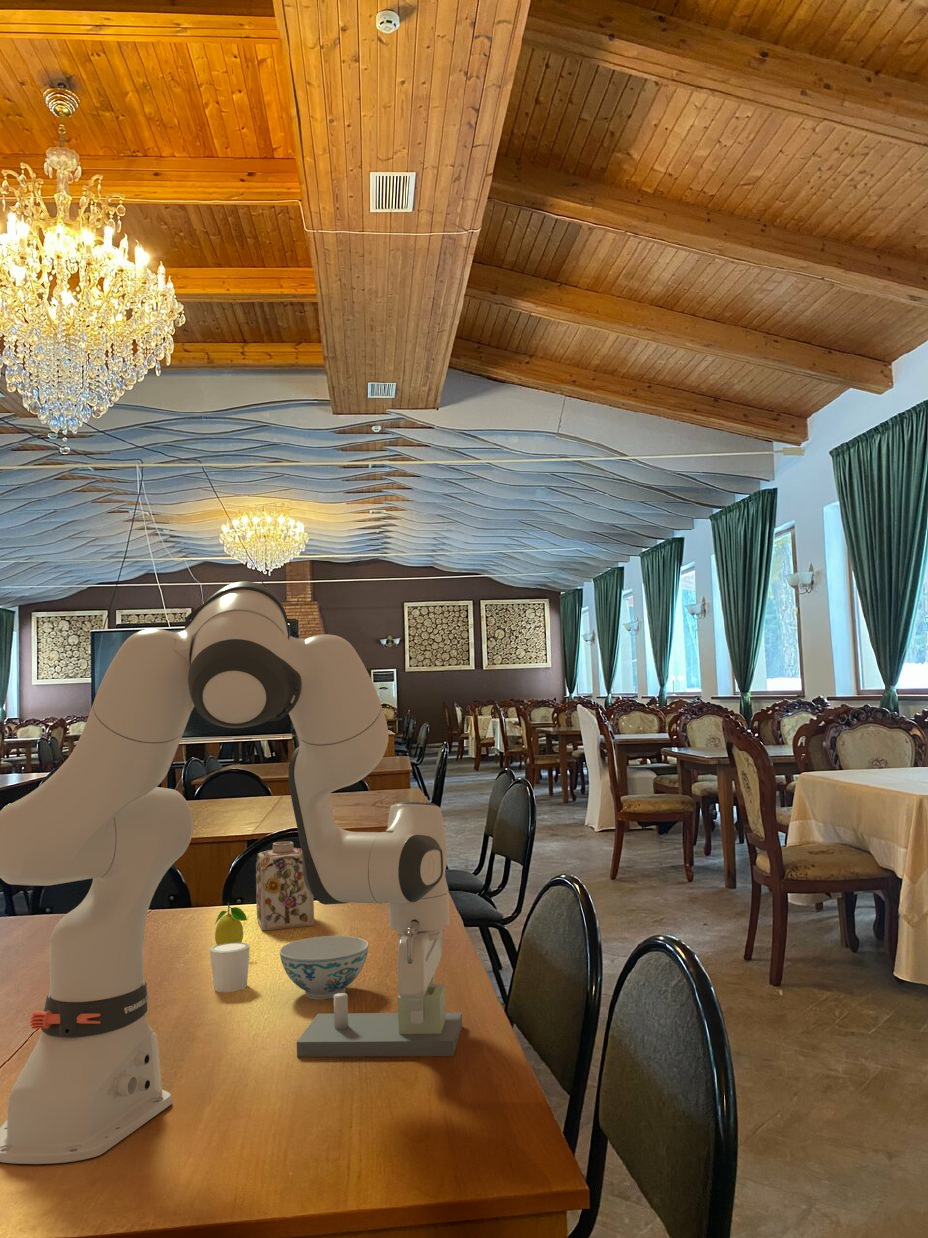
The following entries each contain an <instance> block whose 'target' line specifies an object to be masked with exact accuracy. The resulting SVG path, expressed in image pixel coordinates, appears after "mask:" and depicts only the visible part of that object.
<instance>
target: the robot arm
mask: <svg viewBox="0 0 928 1238" xmlns="http://www.w3.org/2000/svg"><path fill="white" fill-rule="evenodd" d="M288 629H289V620H288V615H287V613H286V610H285V608H284V606H283V603H282V601H281V600H280V599H279V597H278V596H277V595H276V594H275V593H274V592H273V591H272V590H271V589H269V588H268V587H267V586H264V585H263V584H260V583H257V582H253V581H246V580H243V581H237V582H232V583H230V584H227V585H226V586H224V587H222V588H220V589H219V590H218V591H216V592H215V593H214V594H213V595H211V596H210V597H209V598H208V599H207V600H206V601H205V602H203V603H202V604H201V605H200V606H198V607H197V608H196V609H194V610H192V611H191V612H190V613H188V615H187V616H186V617H185V620H184V629H183V630H182V631H178V632H177V631H175V632H174V631H170V630H166V629H161V628H148V629H143V630H139V631H137V632H134V633H133V634H132V635H130V636H129V637H127V639H126V640H125V641H123V643H122V645H121V646H120V648H118V651H117V652H116V654H115V655H114V657H113V658H112V660H111V662H110V664H109V666H108V667H107V670H106V672H105V674H104V676H103V678H102V679H101V683H100V685H99V686H98V690H97V691H96V695H95V697H94V701H93V703H92V705H91V708H90V711H89V714H88V717H87V718H86V719H87V720H86V721H85V724H84V727H83V729H82V732H81V734H80V737H79V739H78V741H77V743H76V745H75V747H74V749H73V750H72V752H71V753H70V755H69V756H68V757H67V759H66V760H65V761H64V762H63V763H62V764H61V766H59V767H58V769H57V770H56V771H54V773H53V774H52V775H51V776H49V777H48V778H47V779H46V780H44V782H43V783H42V784H40V785H39V786H38V787H36V788H35V789H34V790H32V791H31V792H30V793H28V794H26V795H25V796H23V797H21V798H19V799H17V800H15V801H14V802H12V803H9V804H7V805H5V806H4V807H3V808H2V809H0V879H1V880H2V881H3V882H4V883H6V884H8V885H17V886H38V887H39V886H41V887H42V886H43V887H44V886H47V887H48V886H53V885H60V884H66V883H73V882H78V881H85V880H91V879H92V883H91V886H90V888H89V890H88V893H87V894H86V895H85V897H84V898H83V900H82V901H81V902H80V903H79V904H78V905H77V906H76V907H74V909H71V910H70V911H69V912H67V913H66V914H65V915H64V916H63V917H62V918H60V919H59V921H58V922H57V923H56V925H55V926H54V928H53V929H52V933H51V935H50V938H49V993H48V994H47V996H46V999H45V1003H44V1006H43V1008H42V1010H35V1011H33V1012H32V1014H31V1017H30V1021H29V1023H30V1027H31V1029H32V1030H39V1029H40V1030H41V1032H42V1033H41V1034H40V1036H39V1039H38V1041H37V1042H36V1045H35V1047H34V1048H33V1049H32V1051H31V1054H30V1055H29V1057H28V1058H27V1060H26V1063H25V1065H24V1066H23V1068H22V1070H21V1072H20V1073H19V1075H18V1078H17V1080H16V1081H15V1083H14V1085H13V1086H12V1089H11V1090H10V1093H9V1096H8V1097H9V1098H8V1103H7V1104H8V1105H7V1117H6V1118H7V1119H6V1120H5V1122H3V1124H2V1125H1V1126H0V1163H7V1164H18V1165H19V1164H21V1165H22V1164H24V1165H25V1164H26V1165H42V1164H45V1165H49V1164H61V1163H71V1162H77V1161H78V1162H79V1161H83V1160H88V1159H91V1158H95V1157H99V1156H101V1155H103V1154H104V1153H106V1152H107V1151H108V1150H110V1149H111V1148H112V1147H114V1146H115V1145H117V1144H118V1143H119V1142H121V1141H122V1140H124V1139H126V1137H128V1136H129V1135H130V1134H132V1133H133V1132H135V1131H136V1130H138V1129H140V1127H142V1126H143V1125H145V1124H146V1123H147V1122H149V1121H151V1119H153V1118H155V1116H157V1115H159V1114H160V1113H162V1112H163V1111H164V1110H165V1109H167V1108H168V1107H170V1106H171V1105H172V1104H173V1098H172V1093H170V1092H169V1091H167V1090H164V1089H163V1085H162V1083H163V1082H162V1072H161V1061H160V1060H161V1059H160V1049H159V1039H158V1035H157V1033H156V1032H155V1030H153V1028H152V1027H151V1025H150V1023H149V1022H148V1020H147V1017H146V1013H147V1012H148V1000H149V992H148V986H147V982H146V981H145V980H144V949H145V948H144V947H145V946H144V945H145V944H144V943H145V928H146V923H147V918H148V917H147V915H148V913H149V909H150V906H151V902H152V899H153V897H154V895H155V892H156V891H157V888H158V887H159V884H160V883H161V882H162V879H163V878H164V876H165V875H166V874H167V872H168V871H169V869H170V868H171V867H172V866H173V865H174V863H175V862H177V861H178V860H179V858H181V857H182V856H183V855H184V854H185V852H186V851H187V849H188V848H189V845H190V843H191V841H192V838H193V835H194V834H193V833H194V827H195V825H194V816H193V815H194V814H193V811H192V809H191V806H190V804H189V802H188V801H187V800H186V798H185V797H184V796H183V794H182V793H180V792H179V791H178V790H176V789H173V788H166V787H159V786H160V784H161V783H162V782H163V780H164V779H165V778H166V776H167V775H168V772H169V771H170V768H171V765H172V763H173V761H174V758H175V755H176V752H177V750H178V748H179V745H180V743H181V740H182V738H183V735H184V733H185V730H186V727H187V724H188V723H189V720H190V716H191V714H192V711H193V710H194V708H195V709H196V711H197V712H198V713H199V715H200V716H201V717H202V718H203V719H204V720H206V721H208V722H209V723H211V724H213V725H216V726H218V727H222V728H230V729H243V728H250V727H254V726H259V725H262V724H264V723H266V722H277V721H280V720H283V718H285V717H286V716H287V715H289V717H290V720H291V722H292V727H293V728H294V730H295V733H296V736H297V739H298V743H299V744H298V745H299V746H298V747H297V748H295V750H294V751H293V752H292V754H291V757H290V760H289V764H288V771H287V772H288V775H287V776H288V785H289V787H288V788H289V793H290V799H291V804H292V809H293V814H294V818H295V824H296V828H297V832H298V838H299V843H300V847H301V849H302V869H303V878H304V882H305V885H306V887H307V889H308V890H309V892H310V893H311V894H312V895H313V896H314V899H315V900H316V901H317V902H319V903H320V904H321V905H327V906H328V905H338V904H341V905H342V904H344V905H345V904H352V903H353V904H376V905H377V904H378V905H381V904H388V927H389V928H390V929H392V930H393V931H397V938H398V939H399V942H398V945H397V946H398V947H397V992H398V996H400V997H401V998H407V1000H408V1005H409V1009H410V1020H411V1023H413V1024H421V1023H422V1022H423V1020H424V1007H423V998H424V995H425V993H426V991H427V988H428V986H429V985H431V984H434V980H435V972H436V970H437V968H438V966H439V963H440V961H441V958H442V952H443V944H444V943H443V941H444V939H443V938H444V928H446V927H447V926H449V925H450V899H449V897H450V896H449V886H448V883H447V879H446V869H447V865H448V851H447V838H446V829H445V824H444V818H443V813H442V810H441V807H440V806H438V805H436V804H435V803H433V802H425V801H423V802H420V801H400V802H399V801H398V802H395V803H394V804H392V805H390V807H389V812H388V819H387V828H386V829H385V831H380V832H379V831H351V830H346V829H343V828H342V827H339V826H337V824H336V820H335V815H334V814H335V813H334V808H333V804H332V798H331V793H334V792H335V791H337V790H339V789H342V788H346V787H349V786H352V785H354V784H356V783H358V782H359V781H361V780H363V779H364V778H366V777H367V776H368V775H369V774H371V773H372V772H373V771H374V770H375V769H376V768H377V766H378V765H379V764H380V762H381V761H382V759H383V758H384V755H385V753H386V751H387V748H388V744H389V727H388V723H387V718H386V714H385V712H384V710H383V706H382V704H381V700H380V698H379V695H378V692H377V689H376V687H375V684H374V682H373V680H372V678H371V676H370V673H369V672H368V670H367V667H366V666H365V664H364V663H363V661H362V659H361V657H360V656H359V654H358V652H357V651H356V649H355V648H354V646H353V645H352V644H351V643H350V642H349V641H348V640H346V639H345V638H343V637H341V636H338V635H335V634H325V633H324V634H323V633H322V634H318V635H313V636H310V637H307V638H297V637H294V636H292V635H290V636H289V633H288V631H289V630H288ZM283 711H285V712H284V713H282V712H283ZM281 713H282V714H281Z"/></svg>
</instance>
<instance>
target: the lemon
mask: <svg viewBox="0 0 928 1238" xmlns="http://www.w3.org/2000/svg"><path fill="white" fill-rule="evenodd" d="M227 908H228V909H227V910H222V911H220V912H219V914H218V916H217V918H216V920H215V923H214V925H216V928H215V932H214V935H215V936H214V937H215V938H214V939H215V944H216V945H220V944H225V943H243V938H244V929H243V928H244V927H243V924H242V922H241V921H244V922H245V921H248V917H247V915H246V913H245V912H244V911H243V910H242V909H241V908H240V907H237V906H234V907H231V906H230V902H227ZM226 913H227V914H226Z"/></svg>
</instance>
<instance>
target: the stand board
mask: <svg viewBox="0 0 928 1238" xmlns="http://www.w3.org/2000/svg"><path fill="white" fill-rule="evenodd" d="M425 995H429V993H427V992H426V993H425ZM348 1000H349V999H348V994H347V993H346V992H345V993H338V994H335V995H334V998H333V1013H317V1014H316V1016H315V1017H314V1018H313V1020H311V1022H310V1024H309V1025H308V1026H307V1027H306V1029H305V1030H304V1031H303V1033H302V1034H301V1036H300V1037H299V1038H298V1040H297V1041H296V1057H297V1058H315V1057H316V1058H321V1057H322V1058H325V1057H327V1058H329V1057H331V1058H332V1057H333V1058H337V1057H342V1058H344V1057H345V1058H347V1057H349V1058H350V1057H352V1058H353V1057H354V1058H355V1057H359V1058H360V1057H361V1058H362V1057H454V1056H455V1053H456V1050H457V1049H456V1048H457V1047H458V1046H457V1045H458V1042H459V1038H460V1035H461V1032H462V1027H463V1016H462V1015H463V1014H462V1013H463V1012H462V1011H461V1012H460V1011H459V1012H456V1011H455V1012H449V1011H448V1012H446V1011H445V1012H446V1020H445V1023H444V1026H443V1029H442V1032H441V1034H399V1023H398V1012H373V1013H372V1012H370V1013H369V1012H367V1013H366V1012H365V1013H363V1012H362V1013H360V1012H359V1013H357V1012H356V1013H355V1012H353V1013H352V1012H351V1013H349V1008H348V1007H349V1004H348Z"/></svg>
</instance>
